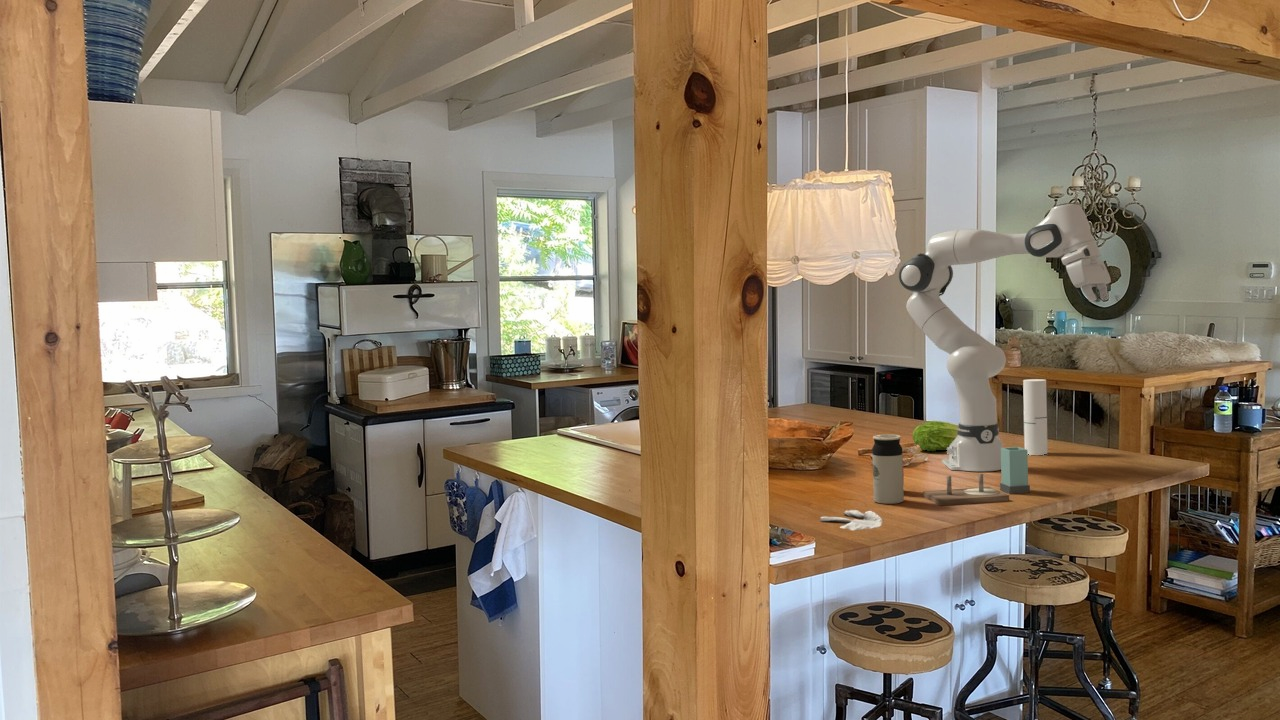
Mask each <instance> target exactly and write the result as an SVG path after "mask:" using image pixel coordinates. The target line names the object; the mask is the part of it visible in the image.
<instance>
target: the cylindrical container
mask: <svg viewBox="0 0 1280 720" xmlns="http://www.w3.org/2000/svg"><path fill="white" fill-rule="evenodd" d="M1022 382H1023V383H1022V384H1023V385H1022V388H1023V391H1022V392H1023V429H1024V430H1023V432H1024V434H1023V435H1024V436H1023V437H1024V438H1023V439H1024V449H1027V451H1028V454H1029V455H1028V456H1031V455H1043V456H1045V455H1044V454H1047V453H1049V452H1048V451H1049V450H1048V413H1047V412H1048V410H1047V409H1048V408H1047V406H1048V404H1047V401H1048V400H1047V398H1048V397H1047V379H1043V378H1042V379H1041V378H1040V379H1039V378H1031V379H1030V378H1029V379H1023V380H1022ZM1047 455H1048V454H1047Z"/></svg>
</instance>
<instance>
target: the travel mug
mask: <svg viewBox="0 0 1280 720" xmlns="http://www.w3.org/2000/svg"><path fill="white" fill-rule="evenodd" d="M901 438H902V436H901V435H900V434H899V435H898V434H876V435H873V436H872V439H873V440H874V444H873V446H872V449H871V451H872V453H871V454H872V457H871V458H872V482H873V485H872V486H873V487H872V490H873V501H874V502H875V503H877V504H882V505H896V504H901V503H902V502H904V501H905V500H904V486H903V474H904V457H903V458H902V456H903V447H902V446H901V443H900V442H901Z"/></svg>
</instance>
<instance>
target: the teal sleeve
mask: <svg viewBox="0 0 1280 720" xmlns="http://www.w3.org/2000/svg"><path fill="white" fill-rule="evenodd" d="M1028 461H1029V455H1028V451H1027V449H1025V447H1024V448H1023V447H1019V446H1011V447H1003V448H1001V471H1000V474H1001V475H1000V478H1001V480H1000V481H1001V482H1000V483H999V489H1000V492H1003V493H1005V494H1008V493H1009V494H1008V495H1016V494H1015V493H1018V494H1026V493H1025V492H1030V493H1031V487H1030V486H1031V485H1029V465H1028V464H1029V463H1028Z"/></svg>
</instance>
